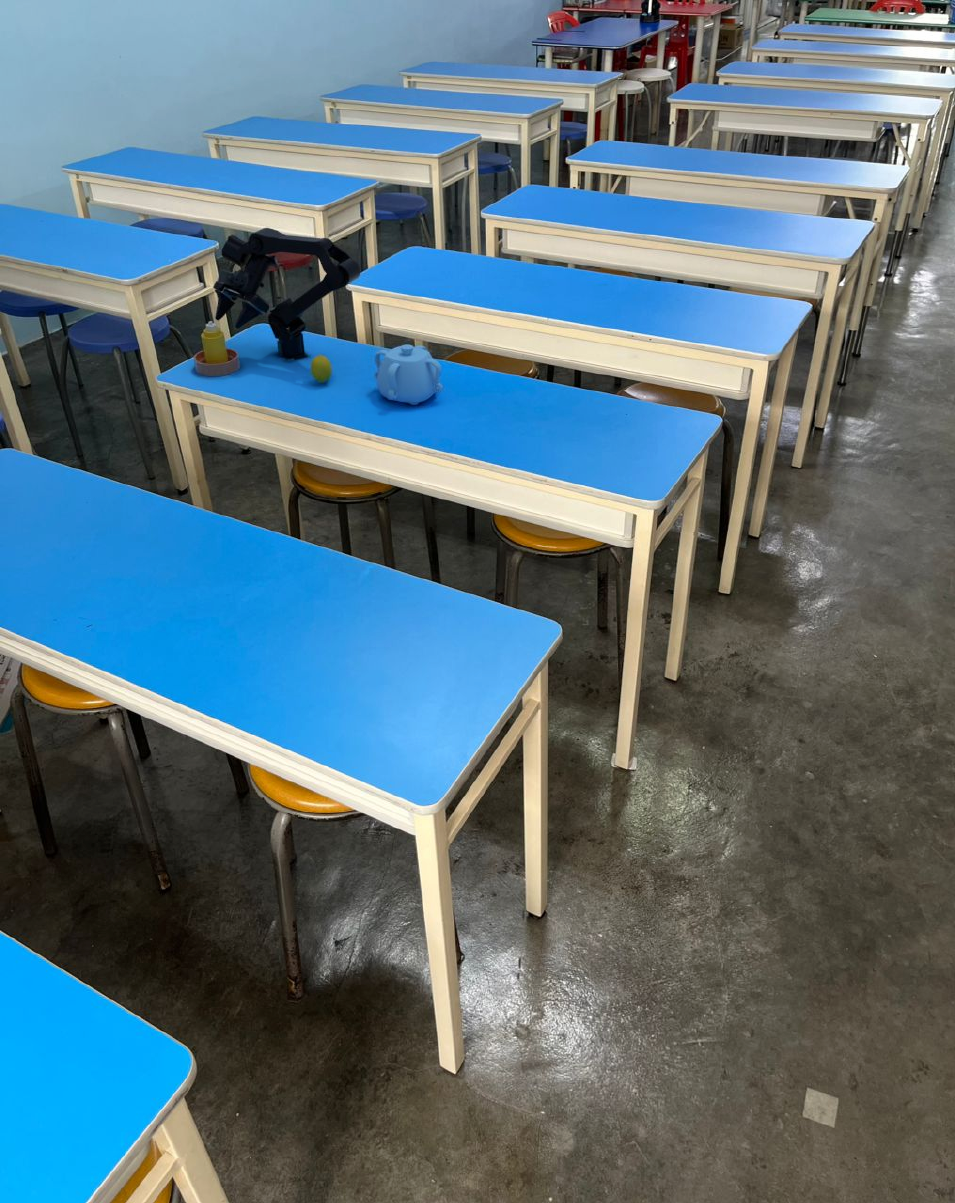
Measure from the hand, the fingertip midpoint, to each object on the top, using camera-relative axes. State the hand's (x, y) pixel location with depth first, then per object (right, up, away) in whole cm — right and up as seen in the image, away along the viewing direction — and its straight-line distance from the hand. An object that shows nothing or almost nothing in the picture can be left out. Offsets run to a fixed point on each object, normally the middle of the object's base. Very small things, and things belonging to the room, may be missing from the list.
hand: (226, 323), depth 257 cm
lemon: (+27, -17, -3) cm, 32 cm away
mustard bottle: (-3, -11, +4) cm, 12 cm away
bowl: (-3, -12, +4) cm, 13 cm away
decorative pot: (+51, -22, -9) cm, 56 cm away
